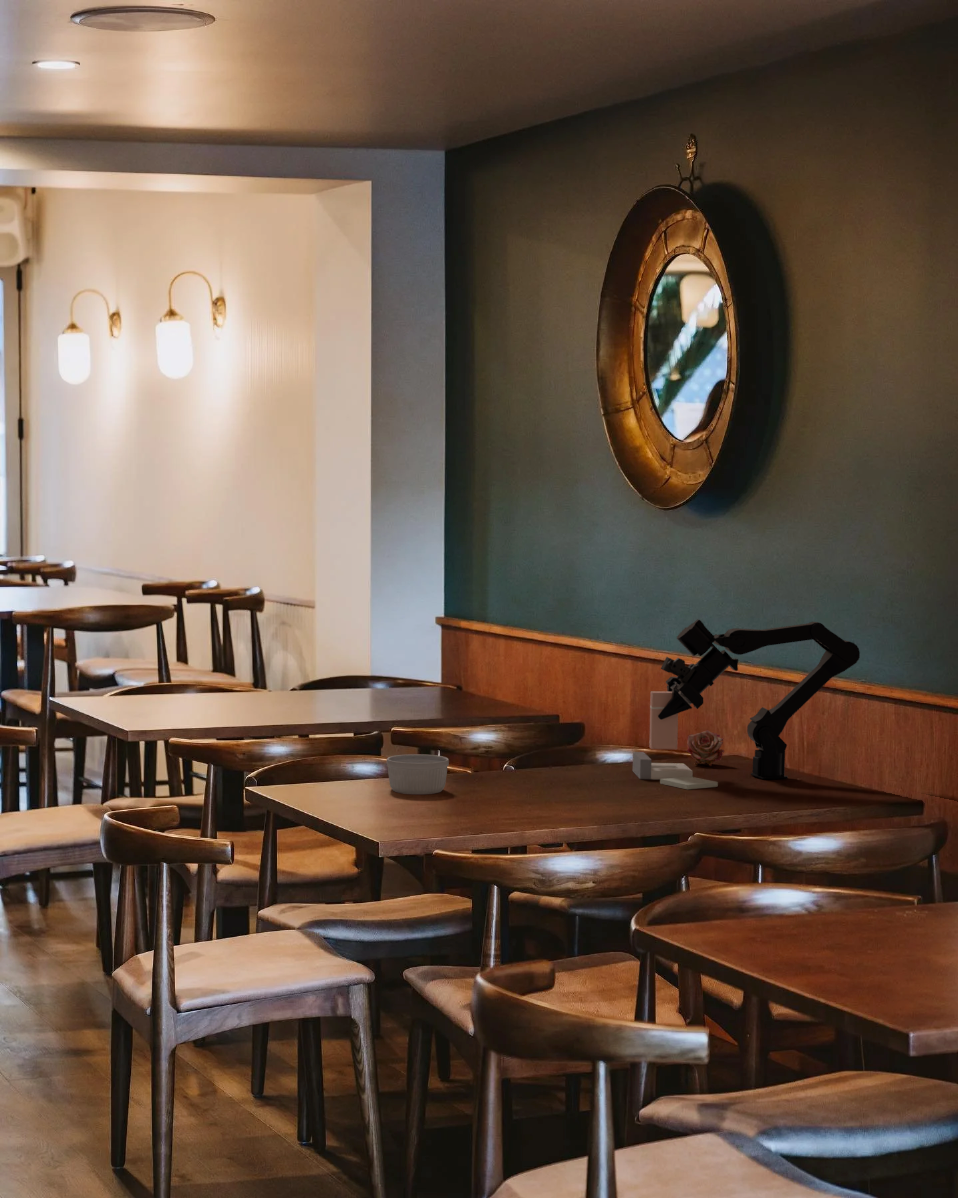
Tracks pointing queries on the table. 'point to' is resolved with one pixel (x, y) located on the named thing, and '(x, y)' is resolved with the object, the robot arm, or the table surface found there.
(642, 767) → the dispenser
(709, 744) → the flower
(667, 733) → the banded beige post
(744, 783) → the table surface
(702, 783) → the pad
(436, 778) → the ramekin
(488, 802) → the table surface
